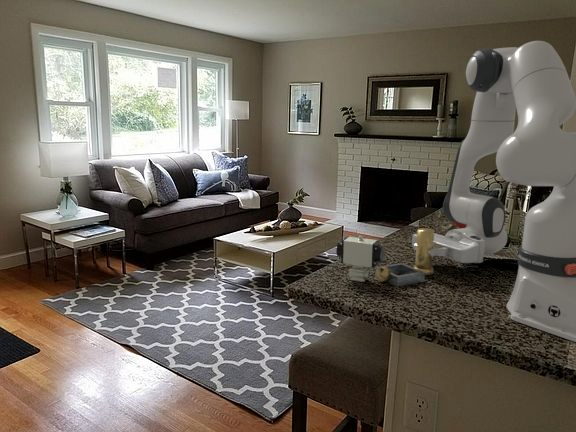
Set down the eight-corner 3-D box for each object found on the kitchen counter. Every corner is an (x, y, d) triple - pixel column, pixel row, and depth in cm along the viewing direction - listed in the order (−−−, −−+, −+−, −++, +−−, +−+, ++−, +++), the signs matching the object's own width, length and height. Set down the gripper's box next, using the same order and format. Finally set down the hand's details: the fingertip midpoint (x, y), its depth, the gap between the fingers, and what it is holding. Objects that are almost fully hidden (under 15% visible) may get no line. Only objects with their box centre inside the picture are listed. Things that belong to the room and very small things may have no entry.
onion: (455, 251, 145) (457, 227, 143) (438, 245, 152) (440, 222, 151) (473, 248, 148) (475, 225, 146) (455, 243, 155) (457, 220, 153)
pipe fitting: (436, 273, 122) (440, 231, 120) (422, 276, 120) (425, 233, 117) (423, 268, 127) (426, 227, 124) (409, 270, 124) (411, 229, 122)
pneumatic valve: (378, 286, 113) (380, 240, 111) (335, 279, 118) (336, 235, 116) (384, 279, 118) (386, 236, 115) (342, 273, 123) (343, 231, 121)
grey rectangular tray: (424, 281, 117) (425, 267, 116) (390, 287, 112) (391, 273, 111) (401, 271, 125) (402, 258, 124) (369, 277, 120) (369, 263, 119)
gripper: (433, 226, 136) (397, 230, 130) (489, 241, 118) (450, 247, 112) (432, 246, 137) (396, 251, 131) (487, 264, 119) (448, 271, 113)
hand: (422, 249), depth 122 cm, fingers closed on pipe fitting, 4 cm apart
